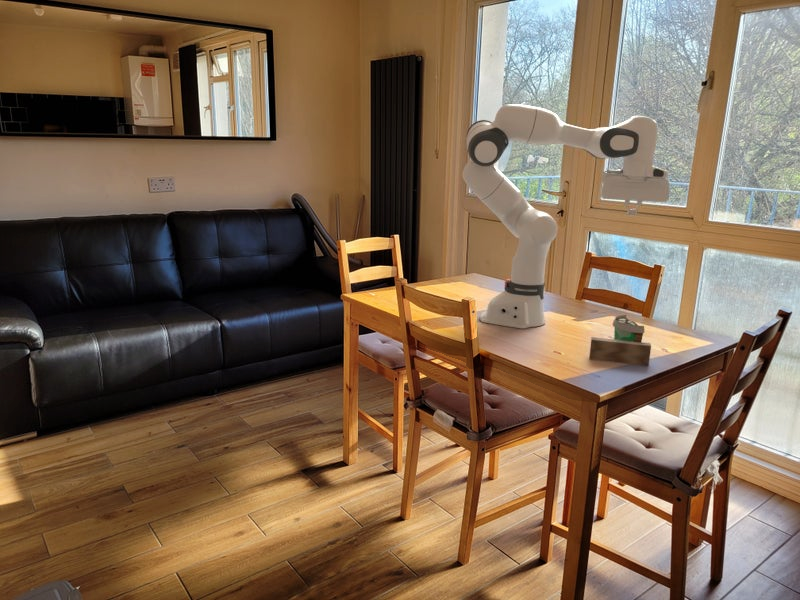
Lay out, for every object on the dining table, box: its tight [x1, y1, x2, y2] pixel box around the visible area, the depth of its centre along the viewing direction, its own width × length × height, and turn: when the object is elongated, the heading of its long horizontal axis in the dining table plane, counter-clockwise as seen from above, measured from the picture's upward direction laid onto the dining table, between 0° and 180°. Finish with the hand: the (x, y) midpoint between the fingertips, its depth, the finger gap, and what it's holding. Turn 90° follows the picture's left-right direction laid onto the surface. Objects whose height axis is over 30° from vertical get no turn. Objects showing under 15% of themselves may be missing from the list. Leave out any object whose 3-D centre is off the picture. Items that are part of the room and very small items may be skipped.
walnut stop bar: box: [589, 336, 652, 367], centre depth 172 cm, size 16×2×6 cm, turn 73°
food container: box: [612, 314, 645, 342], centre depth 180 cm, size 12×6×10 cm, turn 6°
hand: (631, 214), depth 191 cm, fingers closed
